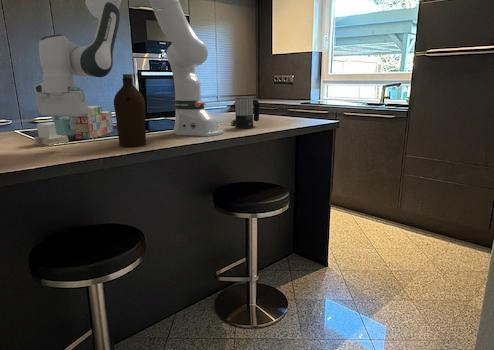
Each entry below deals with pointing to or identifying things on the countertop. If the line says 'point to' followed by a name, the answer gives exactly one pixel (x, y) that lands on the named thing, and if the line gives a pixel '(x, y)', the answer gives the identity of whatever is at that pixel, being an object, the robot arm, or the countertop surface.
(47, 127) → the white block
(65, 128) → the teal block
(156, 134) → the countertop surface
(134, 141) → the olive oil
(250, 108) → the milk frother
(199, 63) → the robot arm
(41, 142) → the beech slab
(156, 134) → the countertop surface
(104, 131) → the stack of blocks
